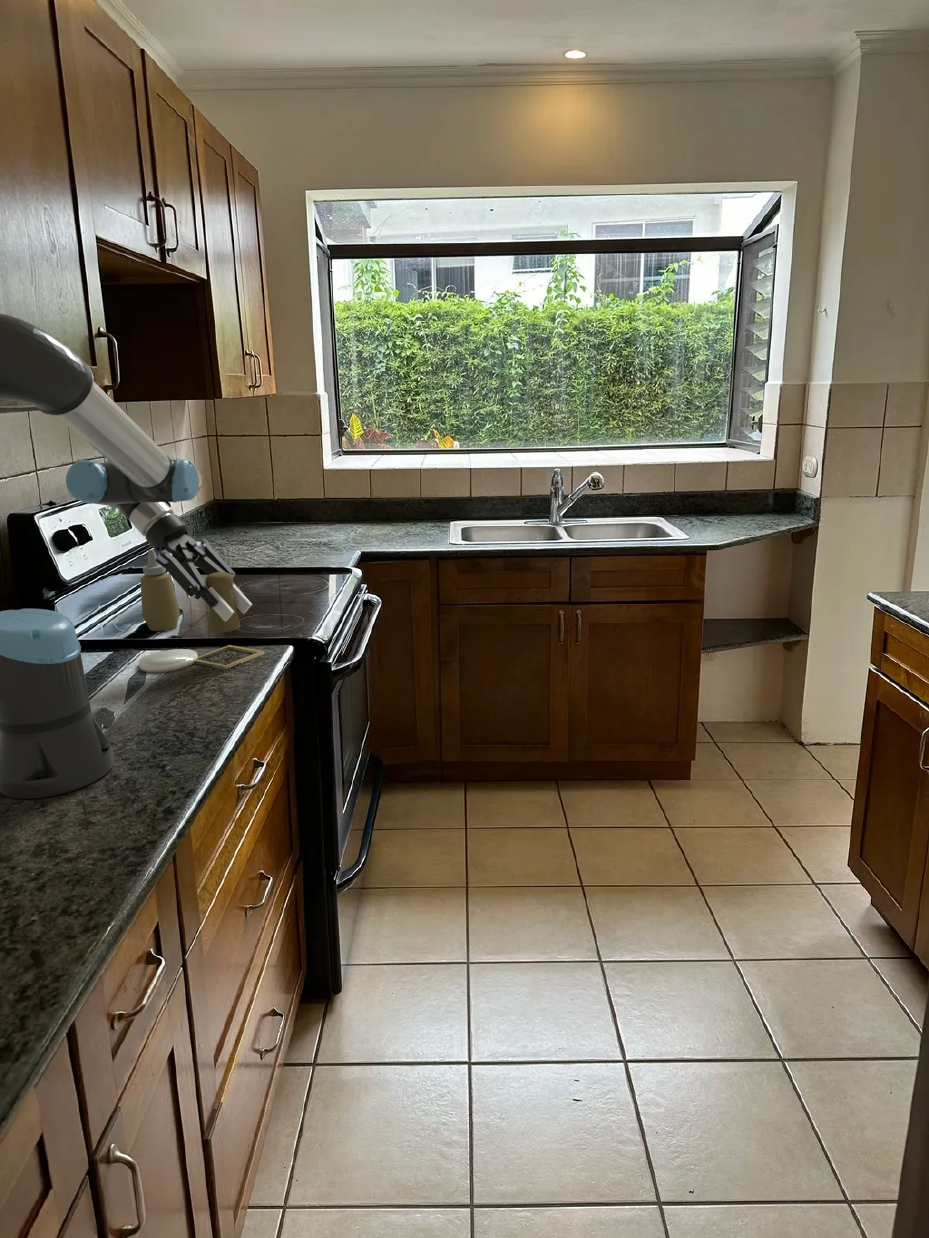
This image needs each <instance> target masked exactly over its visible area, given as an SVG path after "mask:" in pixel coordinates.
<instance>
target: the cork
mask: <svg viewBox="0 0 929 1238" xmlns="http://www.w3.org/2000/svg"><path fill="white" fill-rule="evenodd" d="M233 582H234V578H233V577H232V575H231V574H229V573H226V572H216V573H212V574H209V575H207V576H206V579H205V583H206V585H207V586H208V588H207V589H209V588H210V587H213V588H214V590H215V591H216V592H217V593H218V594H219V595H220V596H221V597H222V598H223V600H224V601H225V602H226V603H227V604H228V605H229V606H230V607H231V608H232V610H233V611H234V613H233V614H232V616H231V617H230V618H229V619H228V620H227V621H224V620H223V619H222V618H221V617H220V616H219V615H218V614H217V612H216V611H215V610H214V609H213V608H211V607H210V606H209V605H208V607H209V609H208V631H209V632H213V633H227V632H232V631H235V630H238V629H240V628H241V624H240V623H241V622H240V618H239V615H238V612H237V607H236V606H235V602H234V598H233V594H232V590H231V589H232V587H233Z"/></svg>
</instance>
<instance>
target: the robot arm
mask: <svg viewBox="0 0 929 1238" xmlns="http://www.w3.org/2000/svg"><path fill="white" fill-rule="evenodd" d="M94 379H95V378H94V374H93V371H92V369H91V367H89V365H88V364H87V363H86V362H85V361H84V360H83V359H82V357H80V356H79V355H78V354H76V352H75V351H73V350H72V349H71V348H70V347H69V346H67V344H65V343H64V342H62V341H61V340H59V339H58V338H56V337H55V336H53V335H52V334H50V333H48V332H47V331H45V330H43V329H41V328H39V327H38V326H36V325H34V324H32V323H30V322H27V321H25V320H24V319H20V318H18V317H15V316H12V315H10V314H5V313H0V402H4V401H12V402H13V401H14V402H21V403H27V404H30V405H32V406H34V407H35V408H36V409H37V410H38V411H39V412H41V413H43V414H45V415H46V416H52V417H57V418H58V419H60V421H61V422H63V423H64V424H65V425H67V426H68V427H69V428H70V429H72V431H73V432H75V433H76V434H77V435H78V436H79V437H81V438H82V439H83V440H84V441H85V442H86V443H87V444H88V445H90V446H91V448H93V449H94V450H95V451H97V452H98V453H99V454H100V455H101V456H102V457H104V458H105V459H106V461H104V462H99V461H96V460H95V459H94V460H92V459H91V460H88V459H87V460H85V459H83V460H82V459H81V460H78V461H75V462H74V463H73V464H71V466H70V467H69V468H68V470H67V472H66V476H65V485H66V486H65V487H66V488H67V491H68V493H69V494H70V496H71V497H73V498H74V499H75V500H77V501H80V502H83V503H86V504H89V505H92V504H95V505H101V506H108V507H114V508H117V509H118V510H119V511H120V513H122V515H123V516H124V517H125V518H126V519H127V520H128V521H129V522H130V523H131V524H132V525H133V527H135V528H136V530H137V531H138V532H139V533H140V535H142V536H143V537H145V540H146V541H147V542H148V543H149V545H150V546H151V547H152V548H153V549H154V551H156V552H157V553H159V554H158V556H157V558H156V562H157V563H159V564H160V565H161V566H163V567H164V568H165V570H166V572H167V573H168V574H169V575H171V578H173V580H175V582H176V583H177V584H178V585H179V586H180V587H181V589H183V591H184V592H185V593H186V594H187V595H188V596H189V597H193V596H194V599H195V600H200V598H201V599H202V600H203V601H204V602H205V603H206V604H207V605H208V607H209V606H210V607H211V608H213V609H214V610H215V611H216V612H217V614H218V615H219V616H220V617H221V618H222V619H223V620H224V621H227V620H228V619H229V618H230V617H231V616H232V614H233V613H234V611H233V610H232V608H231V607H230V606H229V605H228V604H227V603H226V602H225V601H224V600H223V598H222V597H221V596H220V595H219V594H218V593H217V592H216V591H215V590H214V588H213V587H210V588H209V589H208V586H207V585H206V580H205V579H203V577H202V575H201V574H200V572H199V571H198V569H199V570H201V571H202V572H203V573H204V574H206V575H207V576H208V575H209V574H212V573H216V572H226V573H229V574H231V575H232V577H233V579H234V578H235V576H236V572H235V571H234V570H233V569H232V568H231V567H230V565H229V564H227V563H226V561H225V560H224V559H223V558H222V557H221V556H220V555H219V554H218V553H217V552H216V551H215V550H214V549H213V547H212V546H211V544H210V542H209V540H207V539H205V538H203V539H202V541H196V539H195V538H193V537H192V536H190V534H189V533H188V525H186V524H185V522H184V521H183V520H182V519H181V518H180V516H178V515H177V514H175V512H174V510H173V509H172V508H171V507H170V506H169V504H168V503H178V502H186V501H187V502H188V501H192V500H193V499H195V497H196V496H197V494H198V492H199V487H200V486H199V485H200V479H199V477H200V476H199V472H198V469H197V466H196V465H195V464H194V463H193V462H192V461H191V460H189V459H182V458H181V459H180V458H176V459H172V458H171V457H170V456H168V455H167V454H166V453H165V452H164V450H163V449H161V447H159V445H158V444H156V442H155V441H153V440H152V439H151V437H149V435H148V434H147V433H145V432H144V430H142V428H141V427H139V426H138V424H137V423H136V422H135V421H134V420H133V419H132V418H131V417H130V416H129V415H127V413H125V411H124V410H123V409H122V408H121V407H120V406H119V405H118V404H117V403H116V402H115V401H114V400H113V399H112V398H111V397H110V396H109V395H108V394H107V393H106V392H105V391H104V390H103V389H102V388H101V387H100V386H99V385H98V384H97V383H96V382H95V381H94ZM197 568H198V569H197ZM231 590H232V594H233V598H234V602H235V606H236V609H238V610H239V611H240V613H241V614H242V615H244V614H245V613H246V612H248V610H249V609H250V608H251V607H252V606H253V603H252V602H251V601H250V600H249V599H248V598H247V597H246V595H245V594H244V593H243V592H242V590H241V589H240V588H239V586H237V584H236V583H235V582H234V581H233V587H232V589H231ZM75 628H76V627H75V625H74V623H73V622H72V621H71V620H70V618H69V617H68V616H67V615H65V614H63V613H61V612H58V611H55V610H51V609H50V610H49V609H43V608H21V609H8V610H2V611H0V794H1V795H3V796H5V797H8V798H11V799H13V798H14V799H24V800H25V799H29V800H31V799H42V798H49V797H54V796H57V795H61V794H65V793H69V792H73V791H75V790H79V789H81V788H83V787H86V786H88V785H90V784H92V783H94V782H96V781H97V780H100V779H101V778H103V777H104V776H106V775H107V774H108V773H109V772H110V771H111V770H112V768H113V767H114V765H115V758H114V753H113V752H114V751H113V747H112V746H111V743H110V741H109V739H108V738H107V736H106V734H105V733H104V732H103V730H102V728H101V726H100V725H99V723H98V722H97V720H96V718H95V717H94V715H93V712H92V707H91V703H90V698H89V691H88V686H87V681H86V676H85V671H84V665H83V659H82V653H81V650H82V649H81V648H82V646H81V644H80V641H79V640H78V635H77V631H76V629H75Z"/></svg>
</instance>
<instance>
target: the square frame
mask: <svg viewBox="0 0 929 1238" xmlns="http://www.w3.org/2000/svg"><path fill="white" fill-rule="evenodd" d="M228 649H229V650H231V649H233V651H237V650H238V651H237V652H242V653H249V654H250V655H247V656H246V657H243V658H240V659H237V660H234V661H233V662H230V663H228V664H227V663H226V664H222V663H218V662H212V661H208V660H205V659H207V658H206V657H208V658H210V657H212V656H211V655H213V656H215V655H214V654H216V655H218V654H222V653H223V652H226V651H228ZM225 650H226V651H225ZM263 655H265V650H258V649H253V648H248V647H242V646H237V645H232V644H229V645H226V646H223V647H220V648H218V649H215V650H213V651H210V652H207V653H205V654H202V655H198V657H197V659H195V660H194V662H195V663H198V664H197V665H200V664H202V665H201V666H205V665H207V666H206V667H210V666H212V667H211V668H215V667H217V668H216V669H222V670H225V669H227V670H229V669H231V667H232V668H234V667H236V666H238V665H237V664H239V663H241V664H244V663H246V662H248V661H251V660H253V659H256V658H259V657H260V656H263ZM209 656H210V657H209ZM195 663H194V664H195ZM235 665H236V666H235ZM239 665H240V664H239ZM233 666H234V667H233ZM228 668H229V669H228Z"/></svg>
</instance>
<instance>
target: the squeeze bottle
mask: <svg viewBox="0 0 929 1238" xmlns="http://www.w3.org/2000/svg"><path fill="white" fill-rule="evenodd" d="M147 551H148V552H147V564H146V565H144V566H142V572H143V576H142V577H141V578H140V583H139V584H140V596H141V597H140V598H141V612H142V613H141V615H142V616H141V617H142V618H143V620H144V621H145V623H146V625H147V627H148V629H149V630H150V631H153V632H161V631H162V632H163V631H168V630H173V629H174V628H177V626H178V621H179V616H180V612H181V611H180V607H179V606H180V605H179V602H178V599H177V596H176V595H177V594H176V590H175V587H174V584H173V583H174V582H173V580H172V576H171V575H170V574H169V573H168V572H167V570H166V569H165V568H164V567H163V566H161V565H160V564H159V563H157V562H156V558H157V557H158V556H157V554H156V552H155V551H156V550H155V549H154V548H153V549H148V550H147ZM166 572H167V573H166Z"/></svg>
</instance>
